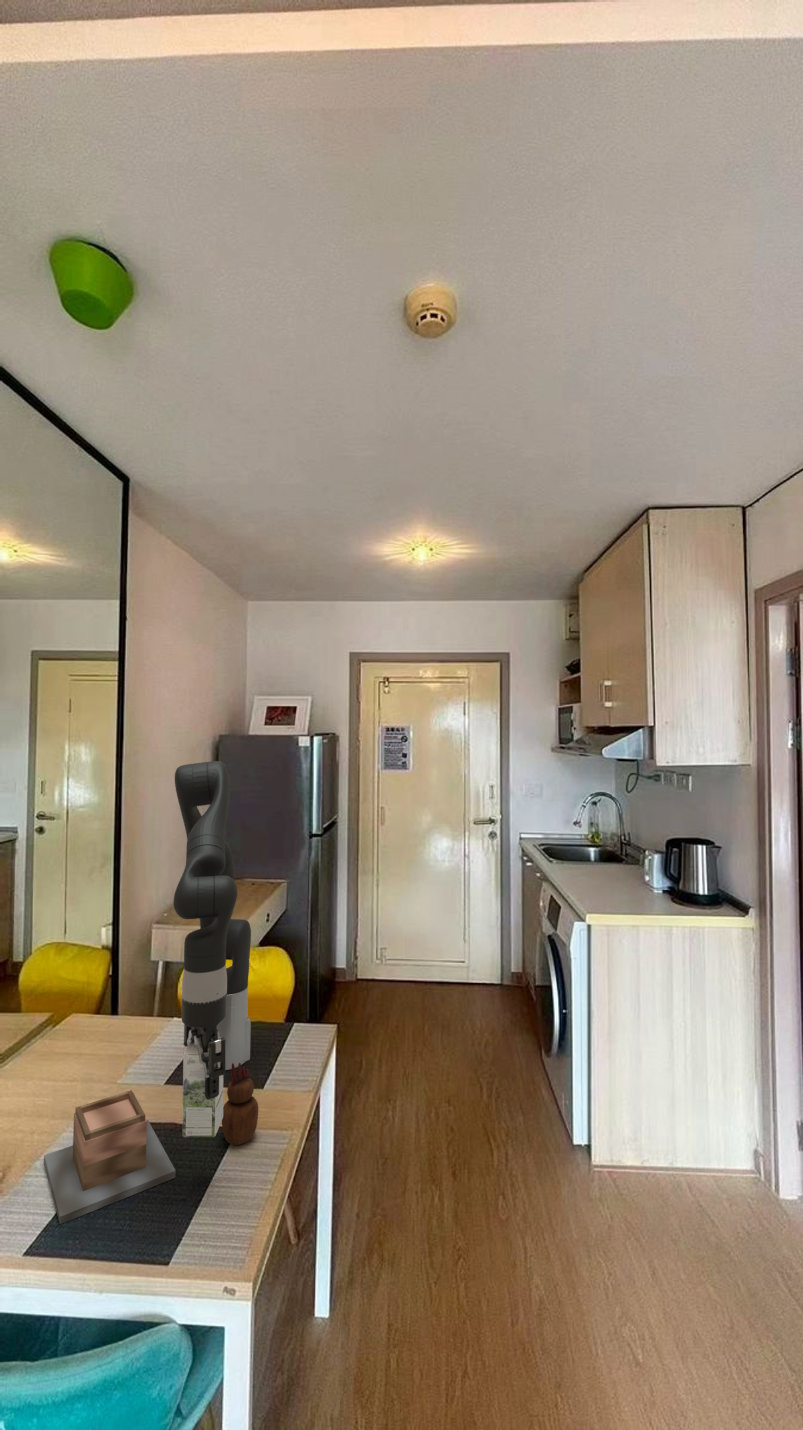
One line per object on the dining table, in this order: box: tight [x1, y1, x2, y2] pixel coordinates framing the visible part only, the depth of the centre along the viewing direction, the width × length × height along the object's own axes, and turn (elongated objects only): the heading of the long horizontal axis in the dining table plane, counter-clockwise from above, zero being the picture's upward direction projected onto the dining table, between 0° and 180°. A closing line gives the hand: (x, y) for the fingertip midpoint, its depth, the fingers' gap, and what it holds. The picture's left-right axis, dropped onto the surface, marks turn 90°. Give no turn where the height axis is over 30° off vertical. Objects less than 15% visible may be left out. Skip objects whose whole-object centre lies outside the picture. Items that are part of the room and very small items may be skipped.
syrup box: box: [181, 1038, 224, 1138], centre depth 109 cm, size 6×6×14 cm
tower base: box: [43, 1089, 177, 1225], centre depth 112 cm, size 18×18×10 cm
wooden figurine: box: [221, 1063, 259, 1146], centre depth 120 cm, size 7×6×15 cm
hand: (203, 1085), depth 109 cm, fingers closed on syrup box, 8 cm apart
